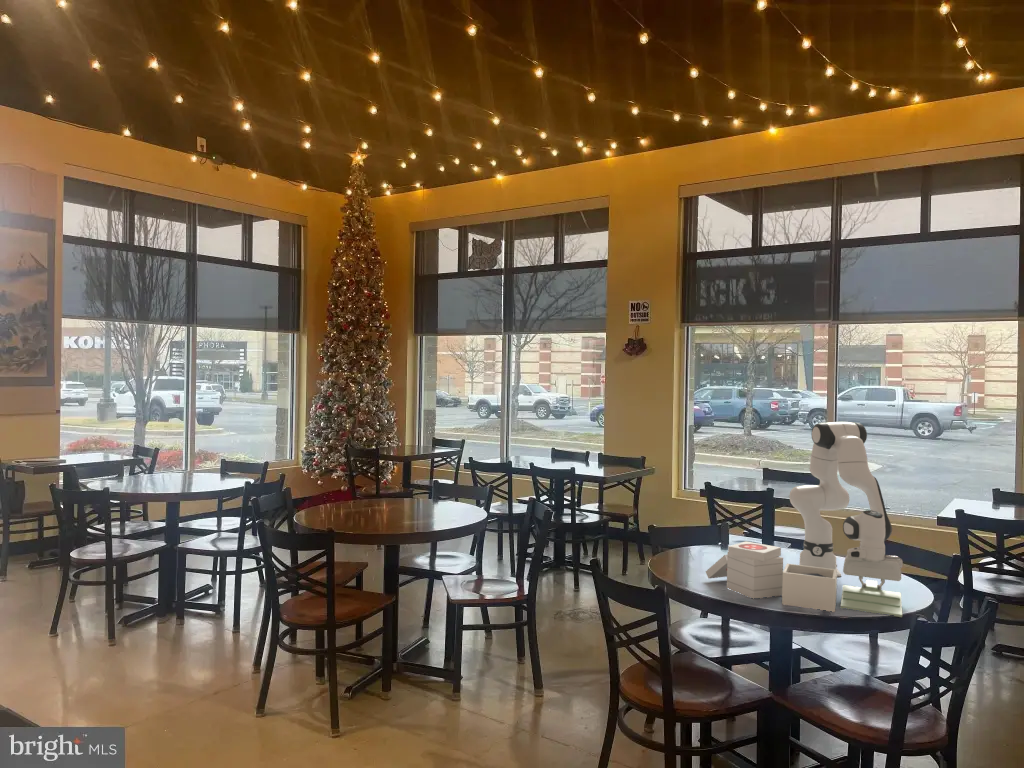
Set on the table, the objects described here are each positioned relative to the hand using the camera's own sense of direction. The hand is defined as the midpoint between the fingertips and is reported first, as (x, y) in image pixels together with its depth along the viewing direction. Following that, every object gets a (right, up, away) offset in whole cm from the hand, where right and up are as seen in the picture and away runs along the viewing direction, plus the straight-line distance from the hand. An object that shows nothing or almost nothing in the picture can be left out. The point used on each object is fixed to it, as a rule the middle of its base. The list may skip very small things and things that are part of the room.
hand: (871, 589), depth 274 cm
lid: (-3, -3, -6) cm, 7 cm away
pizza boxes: (-46, -3, +12) cm, 47 cm away
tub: (-26, -4, -6) cm, 27 cm away
